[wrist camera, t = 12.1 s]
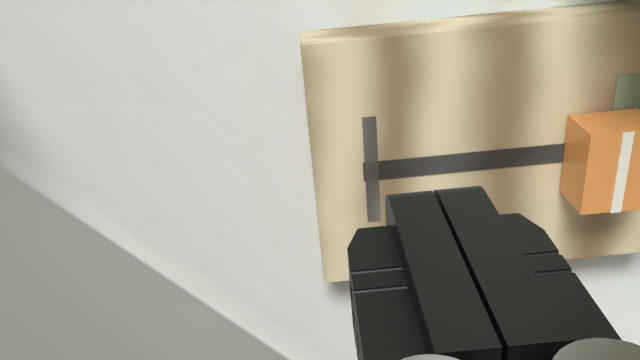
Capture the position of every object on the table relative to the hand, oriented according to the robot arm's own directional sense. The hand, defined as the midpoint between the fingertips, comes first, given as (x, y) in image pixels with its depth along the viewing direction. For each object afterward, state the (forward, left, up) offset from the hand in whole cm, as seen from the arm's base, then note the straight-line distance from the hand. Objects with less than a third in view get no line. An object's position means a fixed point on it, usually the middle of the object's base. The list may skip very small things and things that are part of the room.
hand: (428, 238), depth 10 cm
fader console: (+9, -11, -27) cm, 31 cm away
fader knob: (+15, -11, -24) cm, 30 cm away
